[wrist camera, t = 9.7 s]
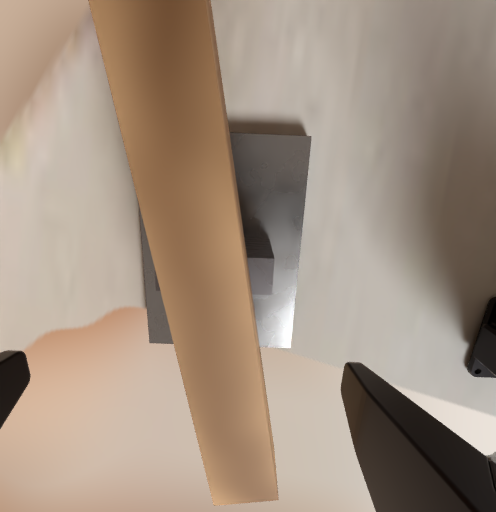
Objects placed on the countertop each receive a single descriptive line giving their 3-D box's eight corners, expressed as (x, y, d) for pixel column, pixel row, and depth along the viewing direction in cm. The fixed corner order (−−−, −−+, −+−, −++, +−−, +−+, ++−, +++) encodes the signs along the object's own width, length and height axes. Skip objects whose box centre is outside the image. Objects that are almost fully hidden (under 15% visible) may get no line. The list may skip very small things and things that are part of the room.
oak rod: (207, -23, 11) (192, -86, 8) (274, 447, 19) (278, 500, 16) (117, -8, 11) (72, -64, 8) (219, 452, 19) (213, 505, 16)
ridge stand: (308, 137, 17) (329, 129, 13) (288, 339, 22) (299, 390, 17) (139, 130, 17) (98, 119, 13) (153, 335, 22) (127, 383, 17)
